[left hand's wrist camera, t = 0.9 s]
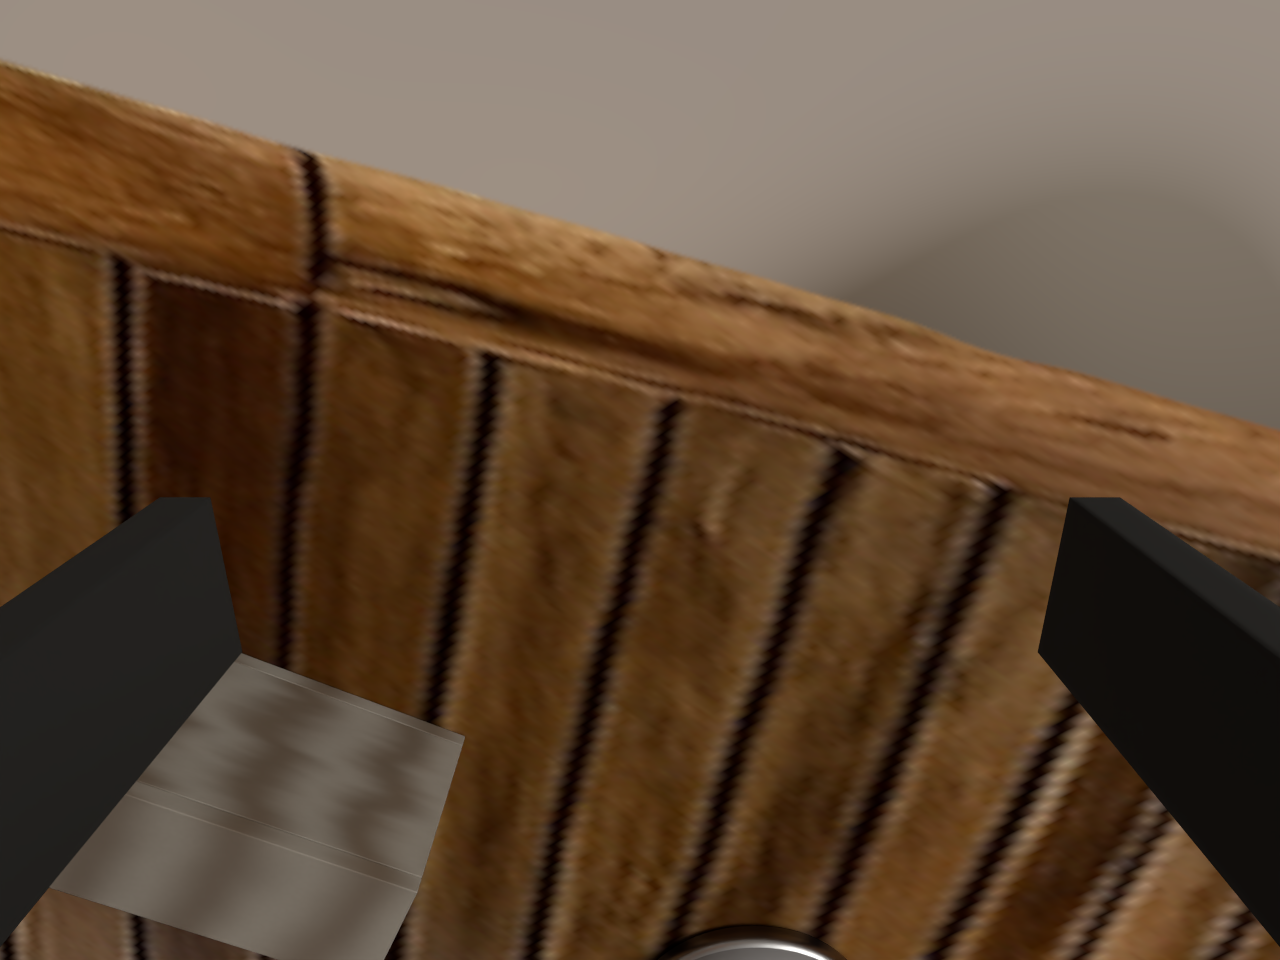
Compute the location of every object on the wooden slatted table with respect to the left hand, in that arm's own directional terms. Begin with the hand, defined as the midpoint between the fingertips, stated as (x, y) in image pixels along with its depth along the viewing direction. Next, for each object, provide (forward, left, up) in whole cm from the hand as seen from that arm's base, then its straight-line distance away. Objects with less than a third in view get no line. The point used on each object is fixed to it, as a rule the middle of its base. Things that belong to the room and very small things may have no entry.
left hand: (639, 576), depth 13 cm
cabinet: (-26, +15, -26) cm, 40 cm away
